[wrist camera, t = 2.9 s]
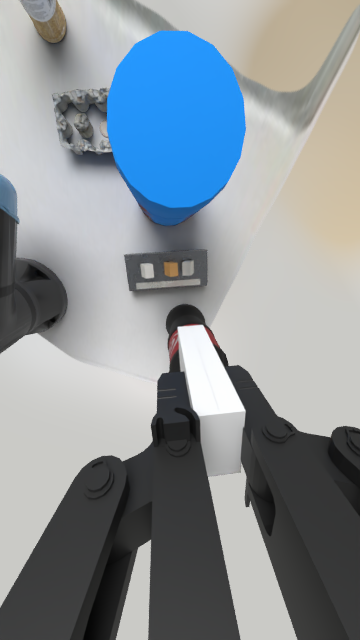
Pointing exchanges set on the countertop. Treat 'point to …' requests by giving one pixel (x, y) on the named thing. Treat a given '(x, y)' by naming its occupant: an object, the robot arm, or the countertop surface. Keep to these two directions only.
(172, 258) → the breaker panel
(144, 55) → the thermos
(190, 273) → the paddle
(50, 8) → the sprinkles bottle
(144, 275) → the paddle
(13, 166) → the countertop surface
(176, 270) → the block
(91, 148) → the egg carton
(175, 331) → the cola bottle
